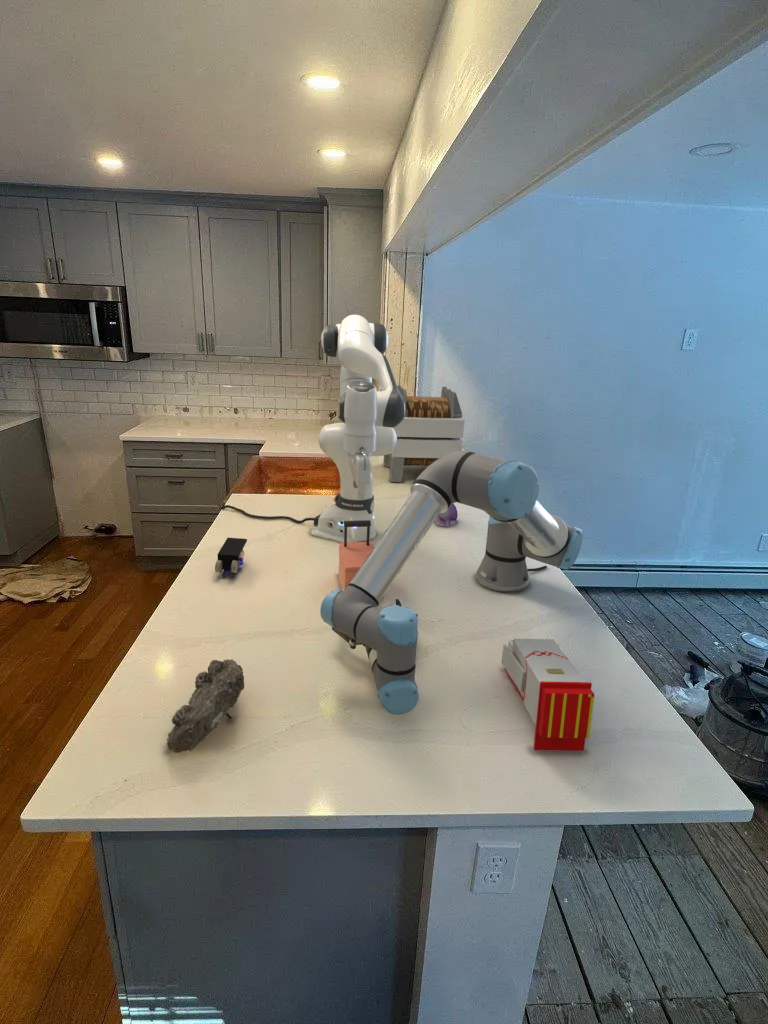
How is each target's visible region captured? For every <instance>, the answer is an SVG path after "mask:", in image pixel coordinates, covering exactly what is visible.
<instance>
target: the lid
mask: <svg viewBox="0 0 768 1024" xmlns="http://www.w3.org/2000/svg"><path fill="white" fill-rule="evenodd" d="M370 526H371V521H370V520H359V521H344V542H339V541H338V546H339V547H338V549H339V548H340V552H341V556H342V560H343V564H344V568H345V571H358V570H359V569H360V567H361V566H362V565H363V563H364V562H365V560H366V559H367V557H368V556H369V555H370V553H371V552H372V550H373V549H374V547H375V546H374V543H373V541H370V539H369V537H370ZM347 527H367V540H366V541H357V542H347Z"/></svg>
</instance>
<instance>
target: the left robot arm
mask: <svg viewBox="0 0 768 1024" xmlns="http://www.w3.org/2000/svg"><path fill="white" fill-rule="evenodd" d="M386 328H387V327H386V326H385V325H384V324H382V323H379V322H372V323H371V322H369V321H368V320H367V319H366V318H365V317H364V316H362V315H360V314H350V315H347V316H345V318H343V319H342V321H341V322H340V323H337V324H335V323H331V324H330V323H329V324H327V325H326V326H325V327H324V328H323V329H322V332H321V335H320V345H321V348H322V350H323V352H324V354H325V355H326V356H327V357H331V358H337V357H338V360H339V362H340V364H341V366H340V370H339V371H340V372H339V398H338V405H339V407H338V417H337V418H338V419H339V420H340V421H341V422H334V423H330V424H329V423H328V424H325V425H323V427H321V429H320V432H319V434H318V445H319V447H320V449H321V451H322V452H323V453H324V454H325V455H326V456H328V457H329V458H330V459H331V460H332V462H334V464H335V466H336V467H337V470H338V474H339V483H340V484H339V485H340V488H339V489H340V490H339V491H338V492H337V494H336V495H335V496H334V497H333V502H334V504H333V505H331V506H329V507H328V508H326V509H325V510H323V512H321V513H319V514H318V515H316V516H315V517H305V518H303V519H302V520H298V519H295V518H294V517H291V516H287V515H275V516H273V515H272V516H266V515H255V514H251V513H248V512H246V511H244V510H243V509H241V508H238V507H236V506H232V505H229V504H225V505H222V506H221V507H220V508H219V510H224V509H231V510H234V511H236V512H239V513H242V514H243V515H245V516H246V517H249V518H253V519H260V520H289V521H292V522H294V523H296V524H303V523H305V522H307V521H308V522H309V521H310V522H311V521H313V526H312V528H311V530H310V533H311V536H315V537H319V538H323V539H326V540H330V541H336V542H338V543H339V542H344V521H359V520H370V521H371V526H370V537H369V540H372V539H373V538H375V537H376V535H377V532H376V528H375V523H374V519H375V515H374V513H373V512H374V509H375V496H374V474H373V472H372V463H371V462H372V461H371V457H382V456H383V457H384V455H387V454H391V453H392V452H393V450H394V449H395V447H396V444H397V435H396V432H395V430H394V429H393V428H394V427H396V426H397V425H398V424H400V423H401V422H402V421H403V419H404V415H405V404H404V400H403V397H402V395H401V394H400V392H399V390H398V387H397V386H398V385H397V382H396V378H395V376H394V374H393V370H392V368H391V365H390V363H389V361H388V358H387V357H386V355H385V353H386V351H387V348H388V346H389V334H388V331H387V329H386ZM373 380H374V381H376V382H378V384H379V388H380V390H379V391H378V390H377V387H376V385H375V384H374V383H373ZM366 541H367V527H347V542H366Z"/></svg>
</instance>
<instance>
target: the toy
mask: <svg viewBox="0 0 768 1024" xmlns="http://www.w3.org/2000/svg"><path fill="white" fill-rule="evenodd" d="M500 661H501V662H500V663H501V664H502V666H503V668H504V671H505V673H506V674H507V676H508V678H509V679H510V681H511V684H512V685H513V686H514V688H515V691H517V693H518V695H519V696H520V699H521V700H522V702H523V704H524V706H525V708H526V711H527V712H528V714H529V716H530V718H531V720H532V723H533V724H534V726H535V731H534V741H533V750H534V751H554V752H555V751H556V752H557V751H558V752H564V751H565V752H584V751H585V743H586V739H590V737H591V736H590V735H591V727H592V718H593V710H594V702H595V692H593V690H592V685H593V684H592V682H590V681H585V679H584V678H583V676H582V675H581V674H580V673H579V672H578V670H577V669H576V668H575V666H574V665H573V663H572V662H571V661H570V659H569V658H568V657H567V655H566V654H565V653H564V651H563V650H562V649H561V648H560V646H559V644H558V643H557V642H556V640H554V638H517V637H515V638H512V639H508V643H507V644H503V647H502V653H501V660H500Z"/></svg>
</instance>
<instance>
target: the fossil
mask: <svg viewBox="0 0 768 1024" xmlns="http://www.w3.org/2000/svg"><path fill="white" fill-rule="evenodd" d="M243 670H244V669H243V667H242V665H240V664H237V662H236V661H235V660H234V659H232V658H231V659H227V658H226V659H224V660H223V661H222V660H217V659H212V660H211V661H210V663H209V665H208V666H207V671H201V672H199V673H198V674H197V675H196V676H195V680H194V684H195V685H194V687H195V689H194V690H193V693H192V694H191V697H190V698H189V700H188V704H184V705H182V706H181V707H180V709H177V710H176V711H175V713H174V715H173V716H172V718H171V723H172V724H173V727H172V730H171V731H170V732H168V734H167V738H166V741H167V742H166V745H167V749H168V750H169V751H173V752H174V753H176V754H178V753H182V752H188V751H189V752H192V751H193V750H195V748H196V747H197V746H199V744H200V743H201V742H203V741H204V740H205V739H206V738H207V737H208V736H209V735H210V734H211V733H212V732H214V730H215V729H217V727H218V726H219V724H220V722H221V721H222V720H223V719H224V718H225V716H226V717H227V719H229V720H233V717H232V715H230V714H229V710H230V709H231V708H234V706H235V704H236V703H237V702H238V699H239V697H240V695H241V693H242V691H243V690H245V689H244V688H245V675H244V671H243Z"/></svg>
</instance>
